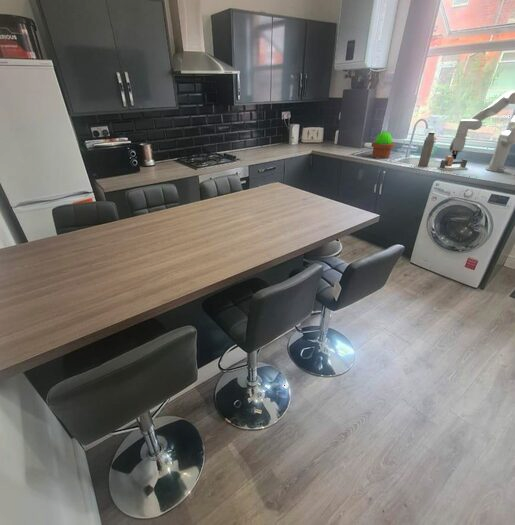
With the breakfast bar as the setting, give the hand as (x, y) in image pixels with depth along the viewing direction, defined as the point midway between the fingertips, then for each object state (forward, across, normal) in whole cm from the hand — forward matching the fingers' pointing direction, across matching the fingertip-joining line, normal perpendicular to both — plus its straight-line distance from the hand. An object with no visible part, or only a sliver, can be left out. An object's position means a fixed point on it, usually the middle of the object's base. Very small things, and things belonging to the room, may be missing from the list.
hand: (453, 158), depth 254 cm
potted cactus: (+9, +32, -64) cm, 72 cm away
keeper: (+6, +4, 0) cm, 7 cm away
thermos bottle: (+9, +15, -16) cm, 24 cm away
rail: (+8, -2, 0) cm, 9 cm away
